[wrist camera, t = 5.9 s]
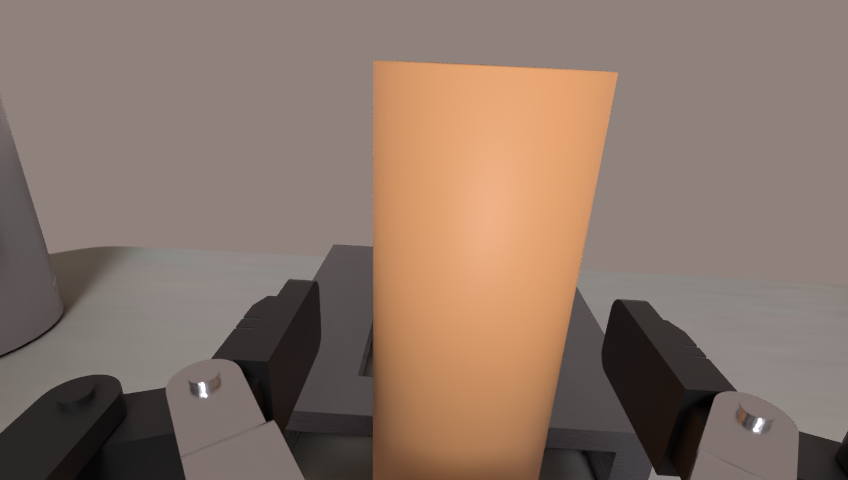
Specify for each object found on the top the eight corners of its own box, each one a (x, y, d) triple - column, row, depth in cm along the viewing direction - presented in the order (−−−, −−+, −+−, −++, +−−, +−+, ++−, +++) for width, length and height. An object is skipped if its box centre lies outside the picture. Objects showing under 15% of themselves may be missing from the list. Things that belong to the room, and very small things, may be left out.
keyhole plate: (641, 500, 18) (662, 434, 17) (246, 474, 18) (237, 407, 17) (551, 300, 33) (559, 257, 31) (335, 287, 33) (333, 244, 32)
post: (465, 756, 11) (576, 73, 5) (329, 612, 14) (296, 57, 8) (545, 585, 15) (665, 74, 9) (426, 498, 18) (454, 62, 12)
